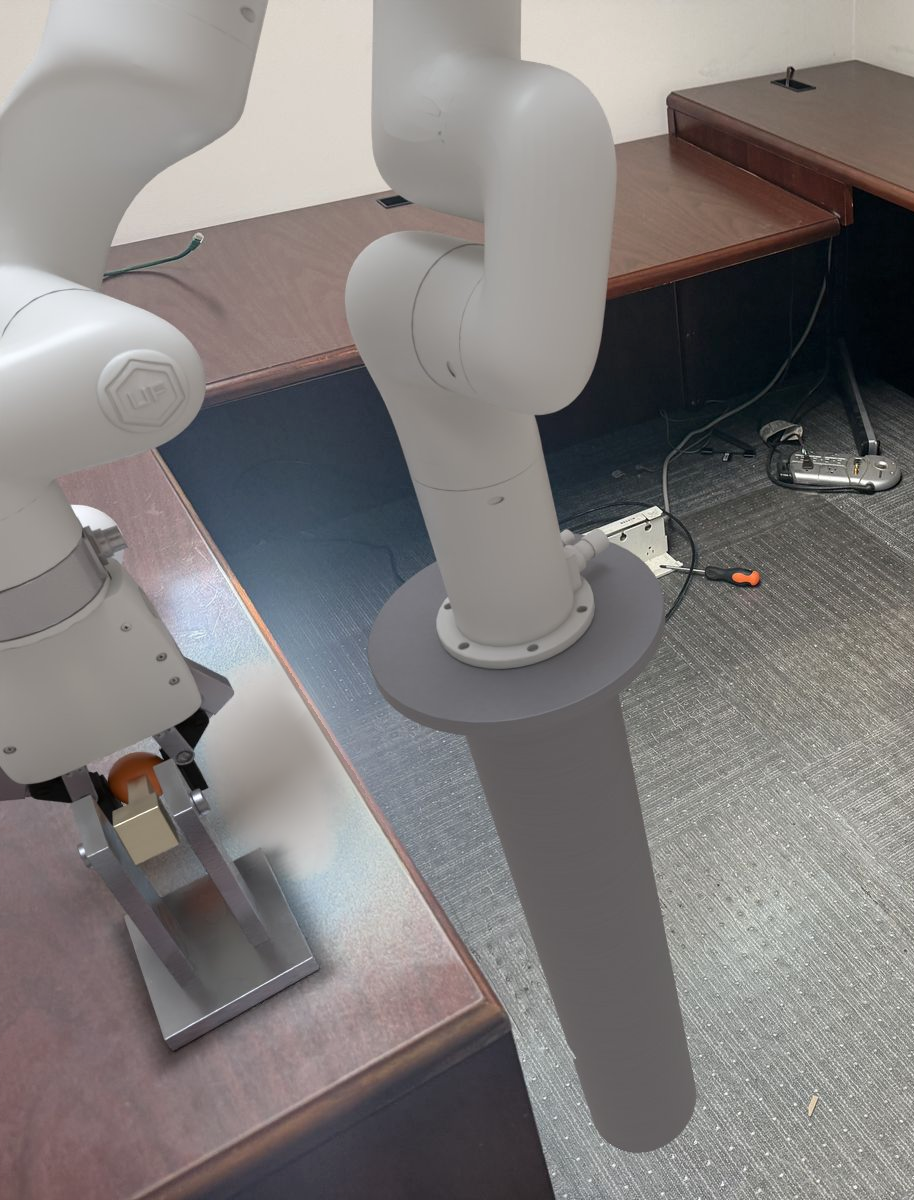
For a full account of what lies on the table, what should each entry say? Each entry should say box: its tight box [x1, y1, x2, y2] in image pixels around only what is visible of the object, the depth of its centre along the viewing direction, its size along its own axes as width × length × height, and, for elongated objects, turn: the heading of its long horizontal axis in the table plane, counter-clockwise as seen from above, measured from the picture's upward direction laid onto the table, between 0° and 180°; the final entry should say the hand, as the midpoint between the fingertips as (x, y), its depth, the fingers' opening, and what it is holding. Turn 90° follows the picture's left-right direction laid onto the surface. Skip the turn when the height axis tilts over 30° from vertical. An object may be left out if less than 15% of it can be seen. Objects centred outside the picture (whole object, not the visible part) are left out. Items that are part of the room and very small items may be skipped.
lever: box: [107, 751, 180, 865], centre depth 61 cm, size 13×3×3 cm, turn 36°
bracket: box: [69, 758, 320, 1052], centre depth 60 cm, size 10×8×13 cm
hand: (160, 814), depth 67 cm, fingers closed on lever, 3 cm apart
